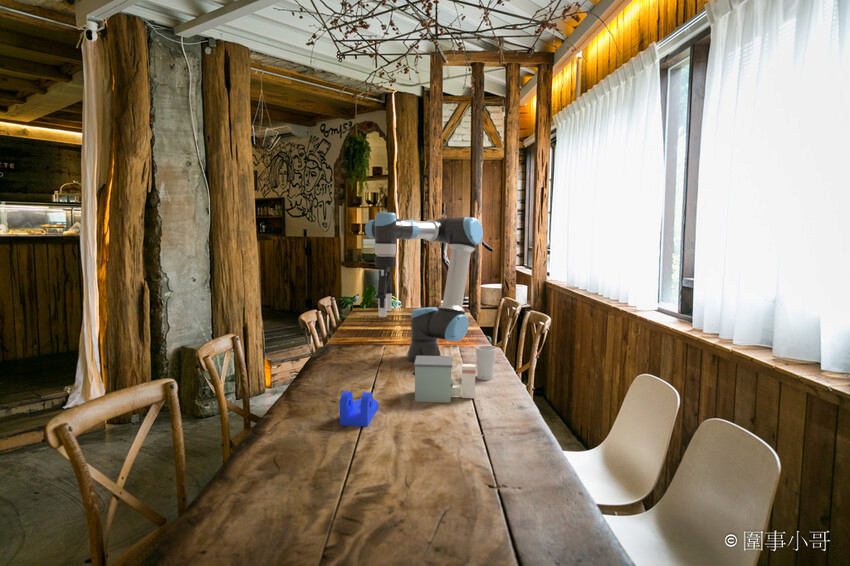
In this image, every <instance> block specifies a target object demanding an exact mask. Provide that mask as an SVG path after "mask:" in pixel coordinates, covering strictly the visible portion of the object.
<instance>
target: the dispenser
mask: <svg viewBox="0 0 850 566" xmlns="http://www.w3.org/2000/svg"><path fill="white" fill-rule="evenodd" d="M413 367H414V402H416V403H417V402H420V403H421V402H422V403H424V402H426V403H427V402H428V403H449V404H450V403H451V402H452V401H451V400H452V398H451V397H452V396H451V387H453V386H454V385H453V384H454V383H453V382H454V379H453V378H452V368H453V356H451V355H450V356H449V355H447V356H444V355H443V356H442V355H441V356H416V360H415V362H414V365H413Z"/></svg>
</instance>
